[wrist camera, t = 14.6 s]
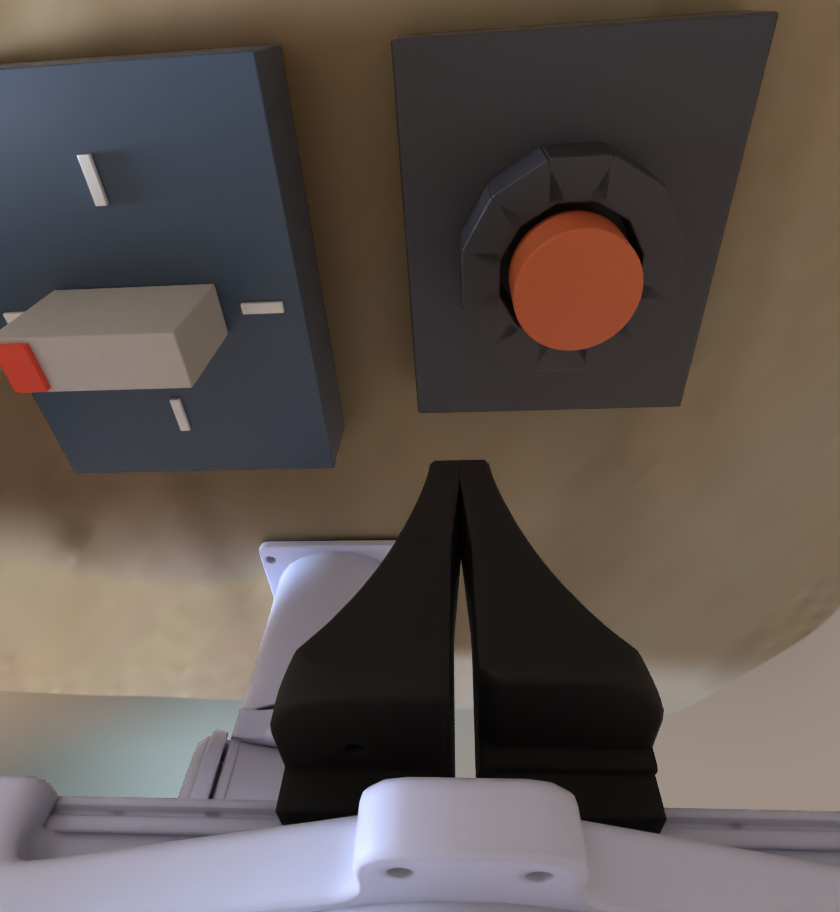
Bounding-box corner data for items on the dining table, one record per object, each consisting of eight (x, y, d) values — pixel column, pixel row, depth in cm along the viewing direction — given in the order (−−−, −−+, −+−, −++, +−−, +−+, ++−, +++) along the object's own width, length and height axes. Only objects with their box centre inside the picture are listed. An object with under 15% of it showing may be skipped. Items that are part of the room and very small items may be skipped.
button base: (664, 378, 24) (696, 435, 21) (420, 385, 25) (415, 441, 22) (746, 10, 17) (815, 12, 13) (396, 35, 17) (384, 42, 14)
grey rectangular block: (214, 283, 19) (170, 336, 16) (228, 333, 20) (189, 392, 17) (53, 289, 19) (-20, 343, 16) (76, 339, 21) (11, 397, 18)
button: (619, 324, 19) (633, 349, 17) (506, 328, 19) (510, 353, 18) (638, 206, 17) (655, 224, 15) (510, 212, 17) (515, 231, 15)
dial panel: (344, 426, 26) (333, 471, 24) (108, 432, 27) (73, 476, 24) (280, 43, 18) (252, 50, 15) (-65, 68, 18) (-145, 78, 16)
